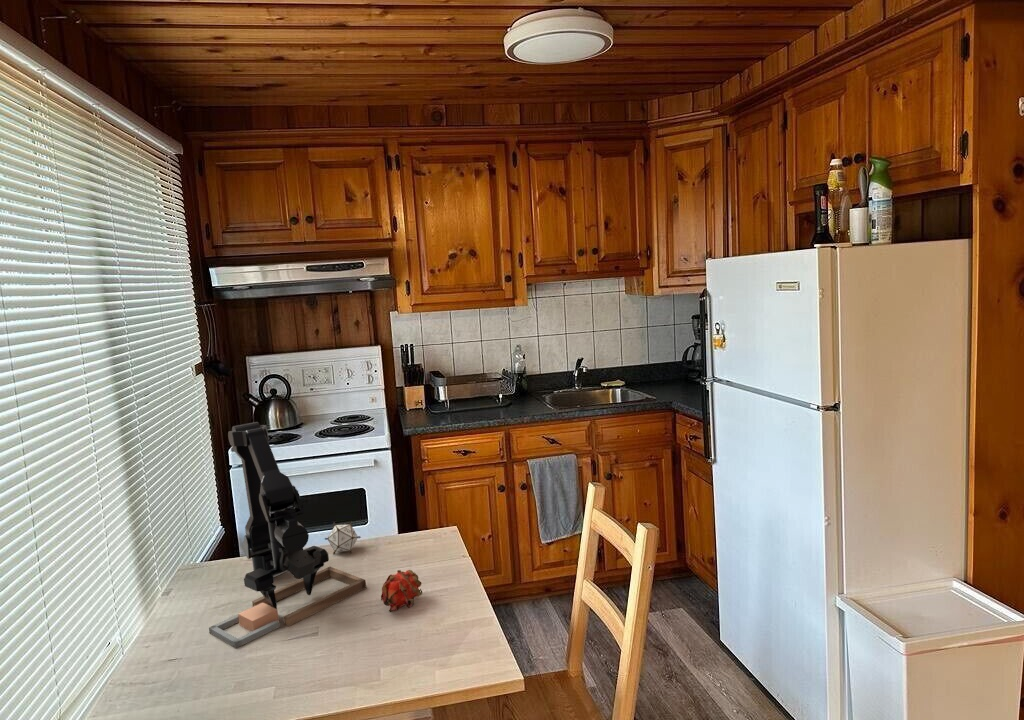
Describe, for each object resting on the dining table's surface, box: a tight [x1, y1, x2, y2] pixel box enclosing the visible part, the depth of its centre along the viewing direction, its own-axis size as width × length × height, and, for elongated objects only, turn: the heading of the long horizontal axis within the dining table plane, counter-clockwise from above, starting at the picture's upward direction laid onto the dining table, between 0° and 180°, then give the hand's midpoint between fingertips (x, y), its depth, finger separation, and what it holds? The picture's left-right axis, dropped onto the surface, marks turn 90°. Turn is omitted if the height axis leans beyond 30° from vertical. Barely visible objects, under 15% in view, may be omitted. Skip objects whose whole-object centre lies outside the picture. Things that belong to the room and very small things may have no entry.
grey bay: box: [208, 614, 281, 649], centre depth 155 cm, size 11×10×1 cm
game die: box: [324, 521, 362, 555], centre depth 194 cm, size 9×8×10 cm
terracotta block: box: [237, 603, 280, 632], centre depth 158 cm, size 6×6×3 cm
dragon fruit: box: [380, 569, 423, 613], centre depth 160 cm, size 8×8×12 cm
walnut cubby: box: [251, 566, 367, 627], centre depth 168 cm, size 14×21×2 cm
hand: (292, 602), depth 164 cm, fingers open, 9 cm apart
